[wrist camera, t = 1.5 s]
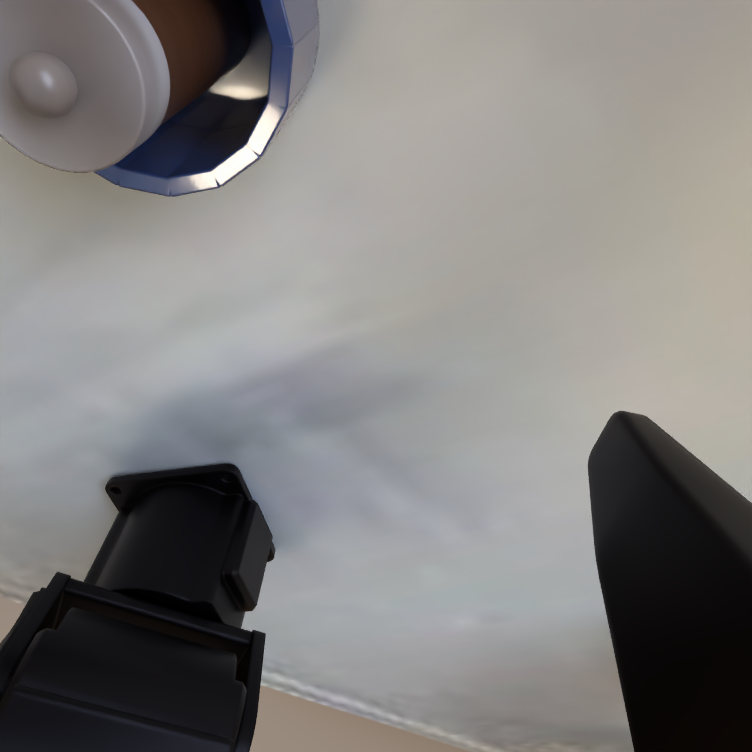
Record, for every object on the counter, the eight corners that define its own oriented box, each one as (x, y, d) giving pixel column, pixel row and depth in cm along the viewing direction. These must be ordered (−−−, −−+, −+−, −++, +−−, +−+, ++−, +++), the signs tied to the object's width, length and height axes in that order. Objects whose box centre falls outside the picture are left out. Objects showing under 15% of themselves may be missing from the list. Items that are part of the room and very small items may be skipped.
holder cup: (142, 159, 20) (75, 216, 16) (37, -96, 16) (-86, -104, 12) (343, 118, 19) (324, 167, 15) (280, -165, 15) (232, -199, 11)
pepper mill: (167, 91, 19) (-4, 202, 11) (123, -30, 17) (-118, 2, 9) (266, 69, 18) (157, 170, 10) (230, -58, 16) (69, -48, 9)
